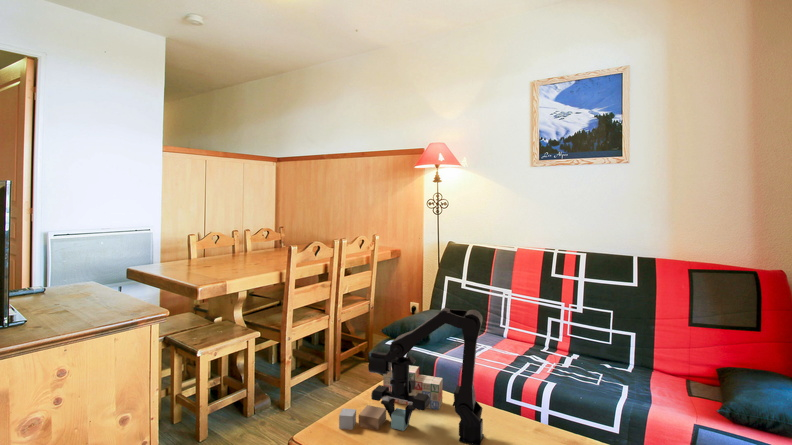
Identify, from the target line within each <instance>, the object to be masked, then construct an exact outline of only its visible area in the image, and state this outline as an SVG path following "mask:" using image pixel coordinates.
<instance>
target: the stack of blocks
mask: <svg viewBox="0 0 792 445" xmlns="http://www.w3.org/2000/svg"><path fill="white" fill-rule="evenodd" d="M382 376H383V377H382V381H383V382H382V384H383V385H382V386H387V387H389V391H391V392H392V384H390V381H391V380H392V368H391V371H390V372H388V373H387V374H382ZM409 377H410V378H411V379H413V380H416V381H415V390H412V392H411V393H409V395H410V396H412V395H414V396H416V395H417V394H418V393H422V394H427V395H428V396H429V397H430V403H429V405H428V406H427V408H426V409H431V410H437V411H439V410H440V408H441V406H442V405H443V387H444V386H443V385H444V384H443V380H444V379H443V377H438V376H437V377H436V376H433V375H432V376H431V375H425V374H420V366H416V365H409ZM396 403H397V404H400V405H401V404H402V405H406V406H407V405H408V402H407V401H402V400H398V399H395V403H394V404H396Z"/></svg>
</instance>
